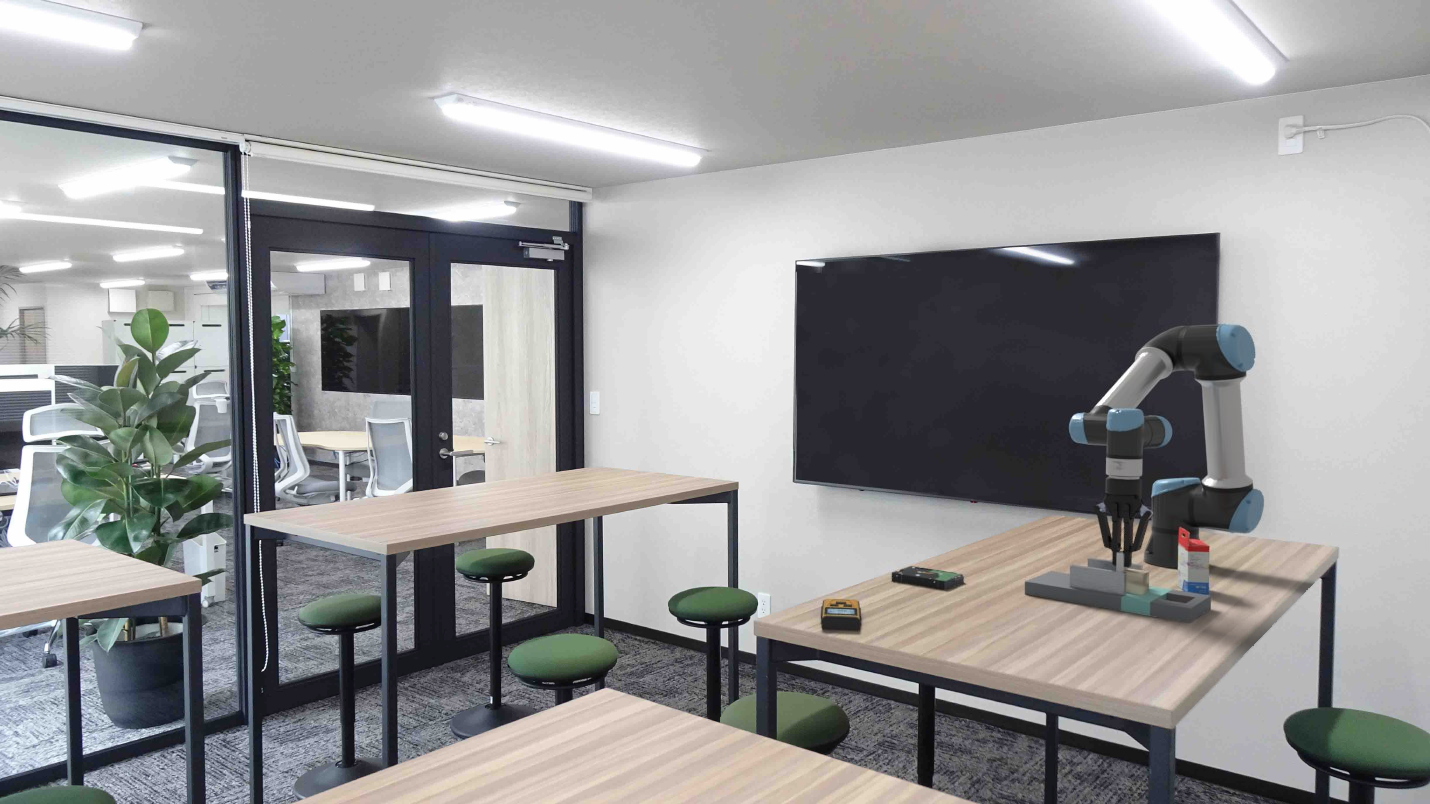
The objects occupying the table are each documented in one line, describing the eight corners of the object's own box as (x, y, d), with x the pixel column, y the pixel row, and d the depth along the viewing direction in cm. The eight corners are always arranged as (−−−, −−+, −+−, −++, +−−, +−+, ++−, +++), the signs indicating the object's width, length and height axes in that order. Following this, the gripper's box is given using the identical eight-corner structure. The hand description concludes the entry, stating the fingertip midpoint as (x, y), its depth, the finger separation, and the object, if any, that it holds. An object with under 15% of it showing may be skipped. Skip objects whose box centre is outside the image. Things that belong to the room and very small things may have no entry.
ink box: (1209, 595, 217) (1211, 533, 216) (1186, 594, 218) (1188, 532, 217) (1198, 587, 225) (1199, 526, 225) (1176, 586, 226) (1177, 526, 226)
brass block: (1128, 588, 212) (1128, 568, 211) (1148, 591, 209) (1149, 571, 208) (1120, 591, 208) (1121, 571, 208) (1141, 594, 205) (1142, 574, 205)
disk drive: (890, 583, 232) (946, 592, 222) (890, 572, 232) (946, 580, 222) (910, 576, 240) (964, 584, 230) (910, 565, 240) (964, 572, 230)
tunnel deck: (1051, 582, 229) (1051, 550, 229) (1210, 609, 205) (1211, 573, 205) (1024, 593, 218) (1025, 560, 218) (1190, 622, 194) (1190, 584, 194)
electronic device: (860, 613, 204) (860, 598, 203) (861, 633, 188) (861, 616, 188) (821, 611, 205) (821, 596, 205) (819, 631, 189) (820, 614, 189)
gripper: (1088, 475, 211) (1086, 578, 212) (1148, 480, 202) (1145, 588, 203) (1100, 473, 217) (1098, 573, 218) (1159, 478, 208) (1157, 582, 209)
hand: (1121, 580), depth 210 cm, fingers closed
